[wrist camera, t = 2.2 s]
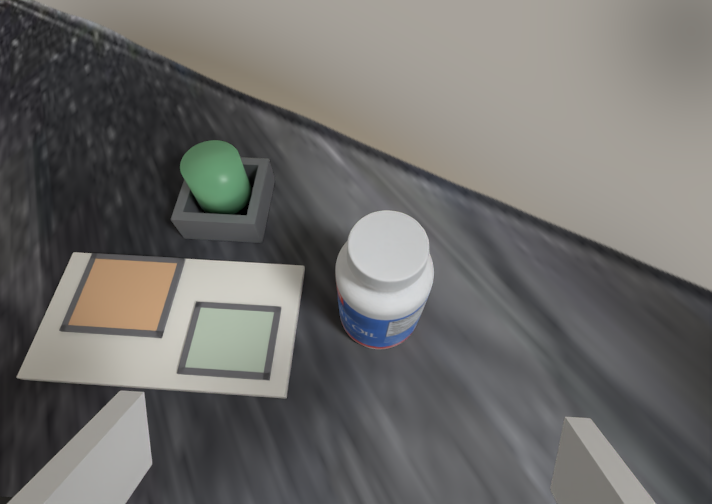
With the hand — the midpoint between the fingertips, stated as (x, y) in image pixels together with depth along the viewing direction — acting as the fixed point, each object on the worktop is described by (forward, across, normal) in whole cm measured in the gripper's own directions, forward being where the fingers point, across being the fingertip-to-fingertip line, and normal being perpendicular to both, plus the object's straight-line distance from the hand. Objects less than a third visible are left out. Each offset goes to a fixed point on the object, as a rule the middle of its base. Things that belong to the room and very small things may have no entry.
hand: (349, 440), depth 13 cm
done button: (+20, -11, +5) cm, 23 cm away
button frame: (+21, -11, +3) cm, 24 cm away
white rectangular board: (+14, -13, -3) cm, 20 cm away
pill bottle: (+16, +1, -3) cm, 16 cm away
